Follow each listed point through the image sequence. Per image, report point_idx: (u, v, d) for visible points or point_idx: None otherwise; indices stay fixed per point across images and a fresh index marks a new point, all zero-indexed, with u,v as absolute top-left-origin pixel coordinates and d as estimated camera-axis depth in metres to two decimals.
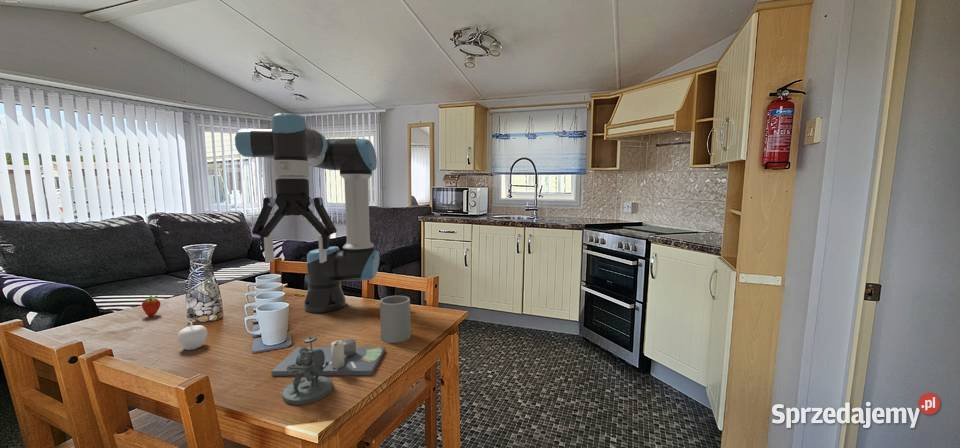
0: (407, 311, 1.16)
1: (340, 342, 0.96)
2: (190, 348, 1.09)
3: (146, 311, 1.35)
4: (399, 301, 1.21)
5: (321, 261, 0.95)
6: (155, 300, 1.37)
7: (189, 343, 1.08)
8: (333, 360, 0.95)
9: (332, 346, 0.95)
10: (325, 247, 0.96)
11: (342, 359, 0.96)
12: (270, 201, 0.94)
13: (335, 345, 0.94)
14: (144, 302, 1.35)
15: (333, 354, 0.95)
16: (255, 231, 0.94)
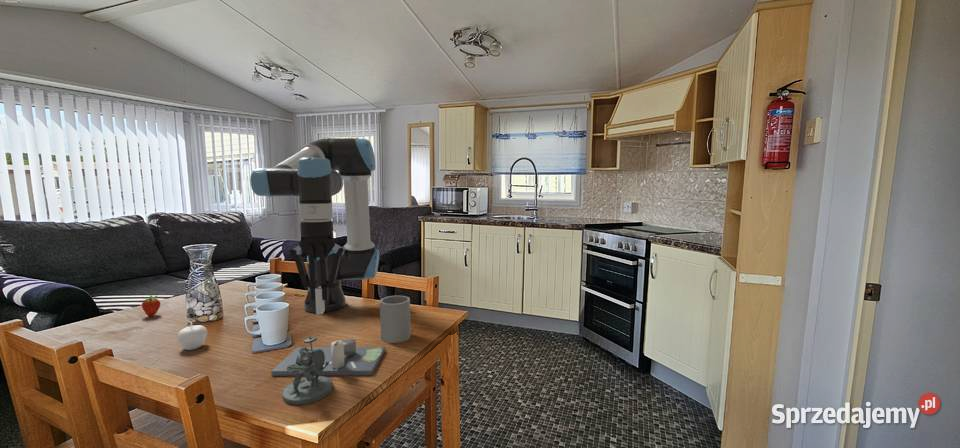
0: (407, 311, 1.16)
1: (340, 342, 0.96)
2: (190, 348, 1.09)
3: (146, 311, 1.35)
4: (399, 301, 1.21)
5: (321, 312, 0.95)
6: (155, 300, 1.37)
7: (189, 343, 1.08)
8: (333, 360, 0.95)
9: (332, 346, 0.95)
10: (325, 298, 0.96)
11: (342, 359, 0.96)
12: (296, 250, 0.94)
13: (335, 345, 0.94)
14: (144, 302, 1.35)
15: (333, 354, 0.95)
16: (305, 283, 0.94)
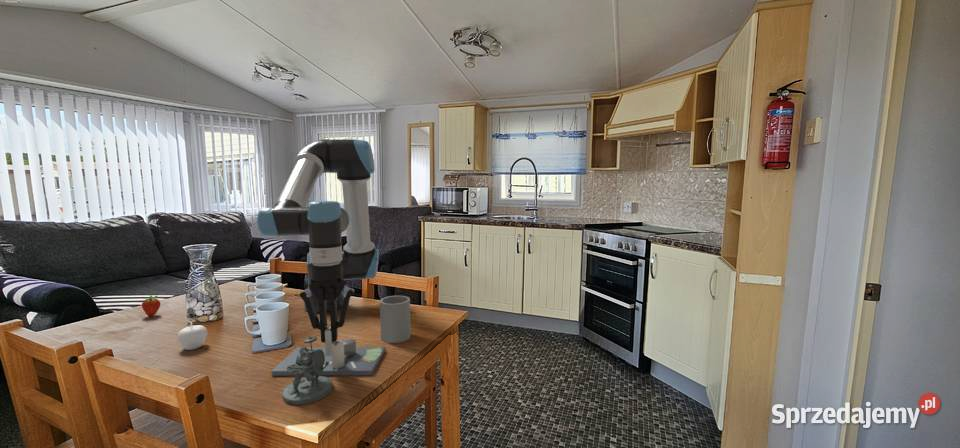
0: (407, 311, 1.16)
1: (340, 342, 0.96)
2: (190, 348, 1.09)
3: (146, 311, 1.35)
4: (399, 301, 1.21)
5: (330, 354, 0.96)
6: (155, 300, 1.37)
7: (189, 343, 1.08)
8: (333, 360, 0.95)
9: (332, 346, 0.95)
10: (334, 340, 0.96)
11: (342, 359, 0.96)
12: (306, 293, 0.94)
13: (335, 345, 0.94)
14: (144, 302, 1.35)
15: (333, 354, 0.95)
16: (315, 325, 0.94)
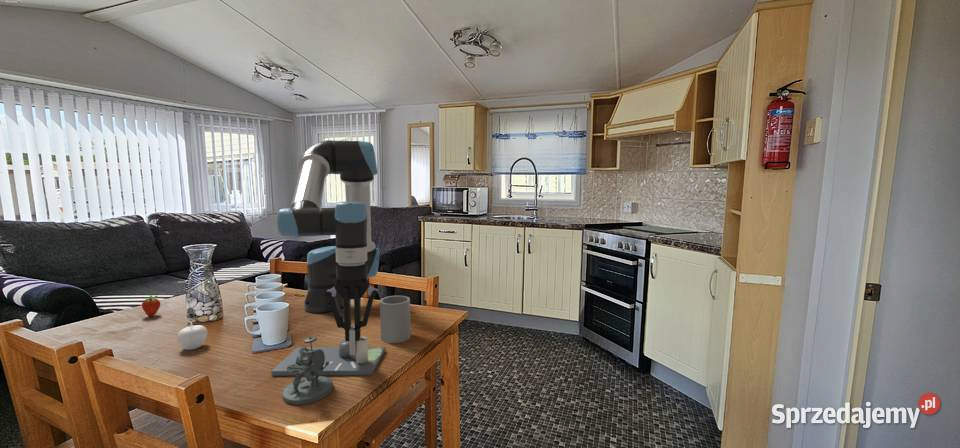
0: (407, 311, 1.16)
1: (363, 337, 0.99)
2: (190, 348, 1.09)
3: (146, 311, 1.35)
4: (399, 301, 1.21)
5: (353, 353, 0.96)
6: (155, 300, 1.37)
7: (189, 343, 1.08)
8: (362, 355, 0.98)
9: (361, 342, 0.97)
10: (357, 339, 0.97)
11: (367, 352, 1.00)
12: (331, 292, 0.95)
13: (365, 340, 0.98)
14: (144, 302, 1.35)
15: (363, 349, 0.97)
16: (340, 324, 0.95)
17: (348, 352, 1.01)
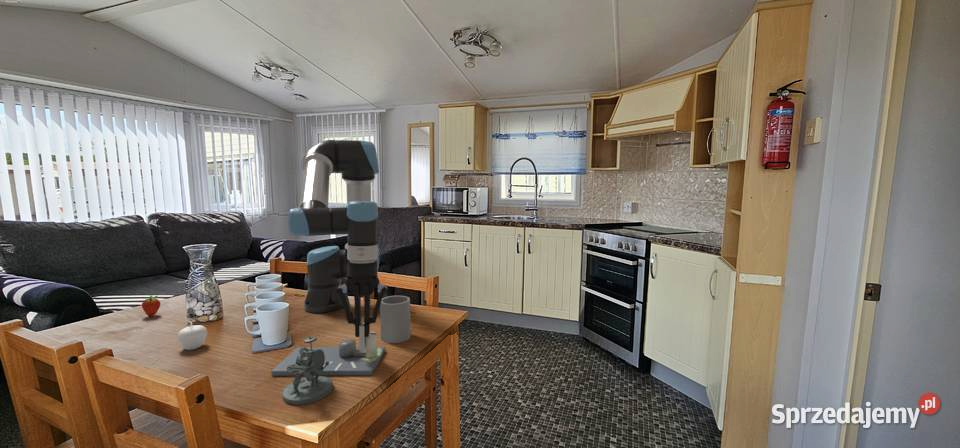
0: (407, 311, 1.16)
1: None
2: (190, 348, 1.09)
3: (146, 311, 1.35)
4: (399, 301, 1.21)
5: (363, 349, 0.99)
6: (155, 300, 1.37)
7: (189, 343, 1.08)
8: (374, 349, 1.01)
9: (373, 336, 1.01)
10: (366, 335, 1.00)
11: None
12: (342, 289, 0.98)
13: (376, 334, 1.02)
14: (144, 302, 1.35)
15: (374, 343, 1.01)
16: (350, 320, 0.98)
17: (352, 351, 1.02)
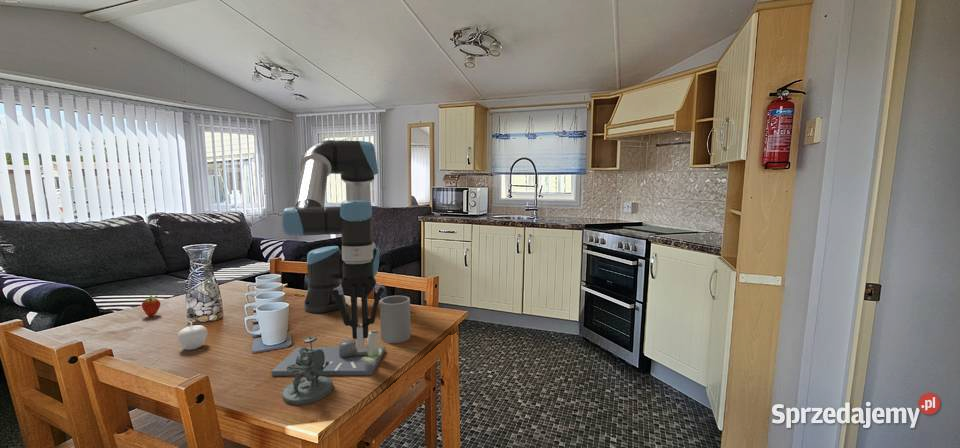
0: (407, 311, 1.16)
1: None
2: (190, 348, 1.09)
3: (146, 311, 1.35)
4: (399, 301, 1.21)
5: (362, 350, 0.97)
6: (155, 300, 1.37)
7: (189, 343, 1.08)
8: (376, 347, 1.02)
9: (376, 335, 1.02)
10: (365, 336, 0.98)
11: None
12: (338, 290, 0.96)
13: (377, 332, 1.03)
14: (144, 302, 1.35)
15: (376, 341, 1.02)
16: (347, 322, 0.96)
17: (353, 350, 1.02)
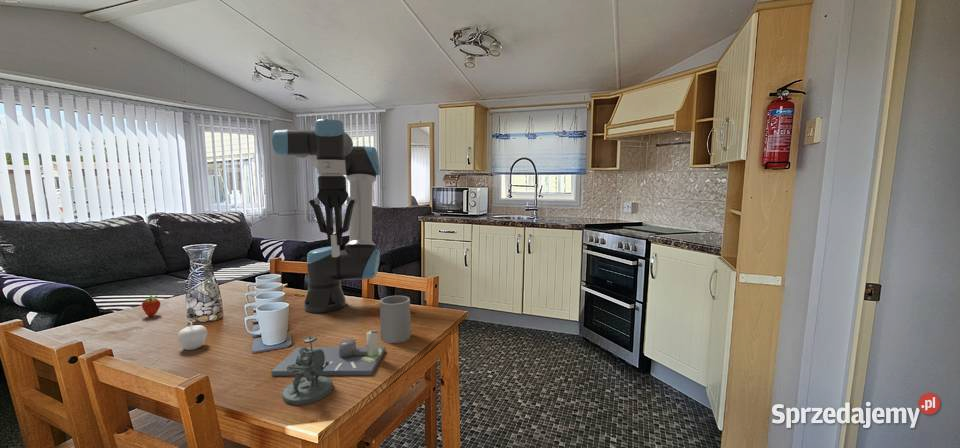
0: (407, 311, 1.16)
1: None
2: (190, 348, 1.09)
3: (146, 311, 1.35)
4: (399, 301, 1.21)
5: (336, 256, 1.10)
6: (155, 300, 1.37)
7: (189, 343, 1.08)
8: (376, 347, 1.02)
9: (376, 335, 1.02)
10: (339, 243, 1.10)
11: None
12: (315, 201, 1.08)
13: (377, 332, 1.03)
14: (144, 302, 1.35)
15: (376, 342, 1.02)
16: (322, 229, 1.09)
17: (353, 350, 1.02)
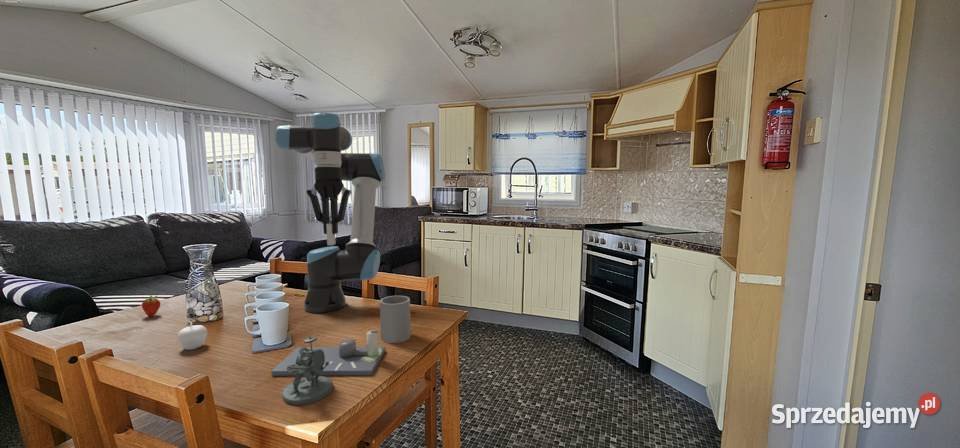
0: (407, 311, 1.16)
1: None
2: (190, 348, 1.09)
3: (146, 311, 1.35)
4: (399, 301, 1.21)
5: (331, 244, 1.14)
6: (155, 300, 1.37)
7: (189, 343, 1.08)
8: (376, 347, 1.02)
9: (376, 335, 1.02)
10: (334, 232, 1.14)
11: None
12: (312, 191, 1.13)
13: (377, 332, 1.03)
14: (144, 302, 1.35)
15: (376, 342, 1.02)
16: (318, 218, 1.13)
17: (353, 350, 1.02)
